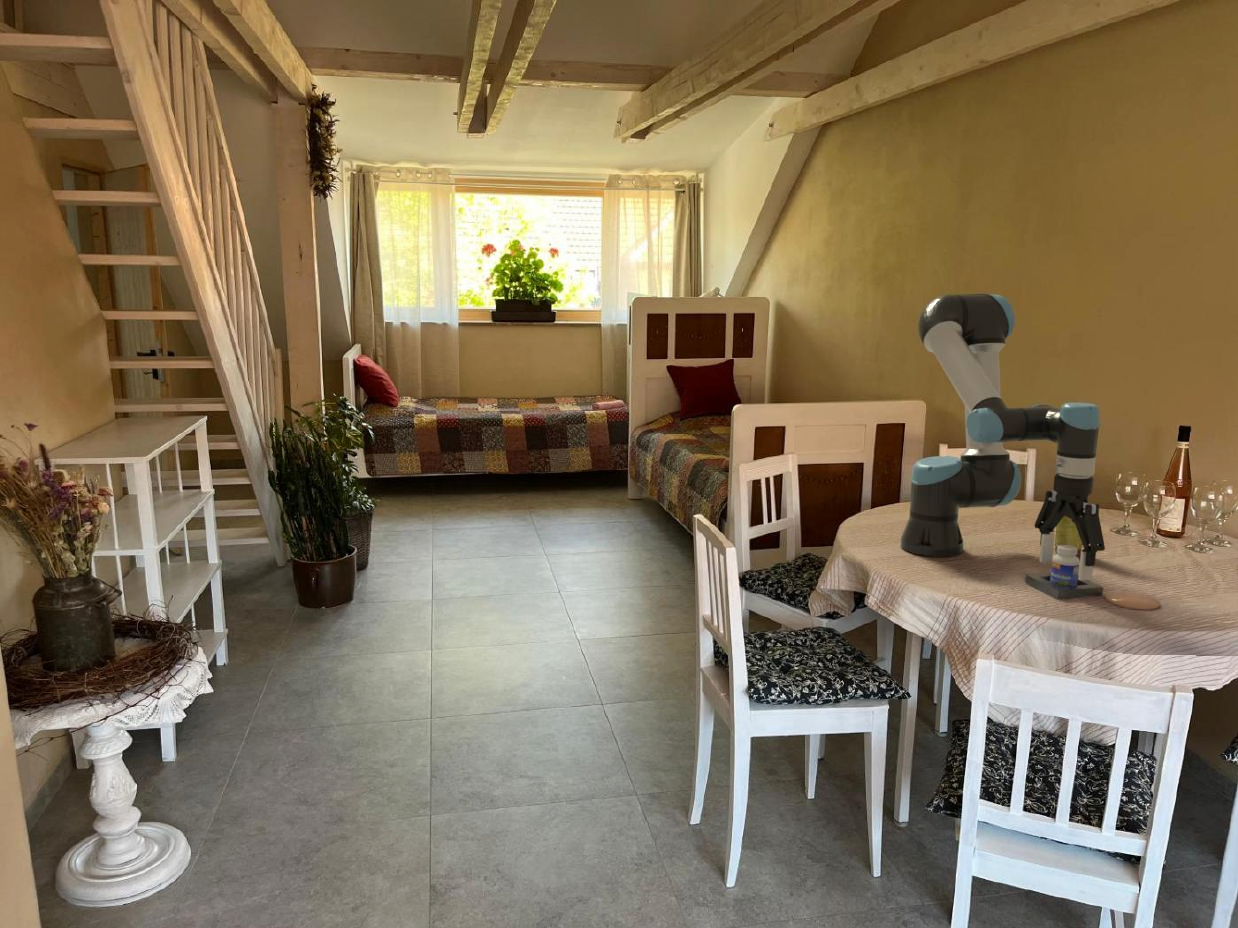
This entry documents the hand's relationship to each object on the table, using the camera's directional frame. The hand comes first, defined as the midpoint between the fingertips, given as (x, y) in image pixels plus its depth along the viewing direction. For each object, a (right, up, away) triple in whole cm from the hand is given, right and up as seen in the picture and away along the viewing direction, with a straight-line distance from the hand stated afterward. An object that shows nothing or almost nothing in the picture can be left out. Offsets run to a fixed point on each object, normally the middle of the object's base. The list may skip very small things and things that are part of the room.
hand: (1064, 570), depth 195 cm
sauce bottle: (+14, +1, +27) cm, 30 cm away
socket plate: (0, -4, +1) cm, 4 cm away
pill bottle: (0, -5, +1) cm, 5 cm away
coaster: (+11, -6, -7) cm, 14 cm away
